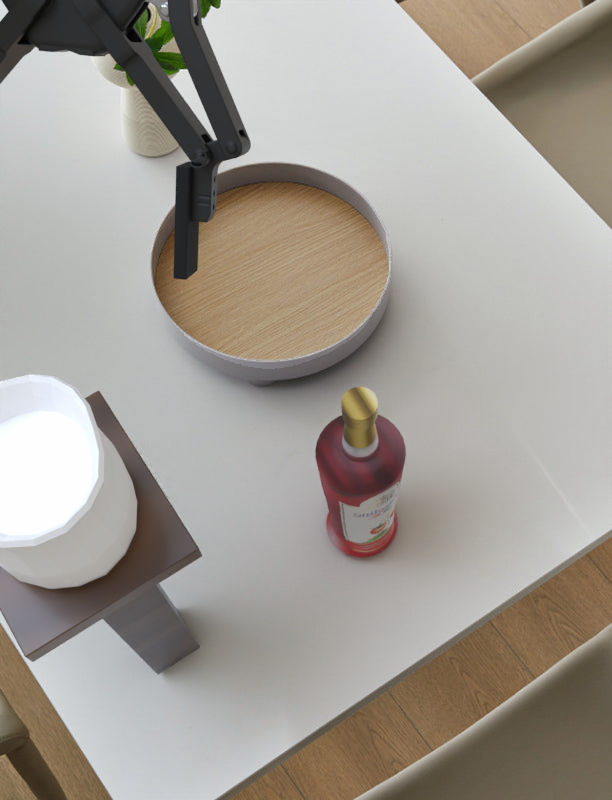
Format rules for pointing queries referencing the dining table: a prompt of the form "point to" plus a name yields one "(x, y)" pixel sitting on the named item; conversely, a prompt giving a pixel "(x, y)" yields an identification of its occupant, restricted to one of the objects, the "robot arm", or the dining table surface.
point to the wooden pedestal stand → (115, 577)
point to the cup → (59, 487)
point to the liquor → (361, 475)
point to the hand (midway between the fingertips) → (74, 262)
